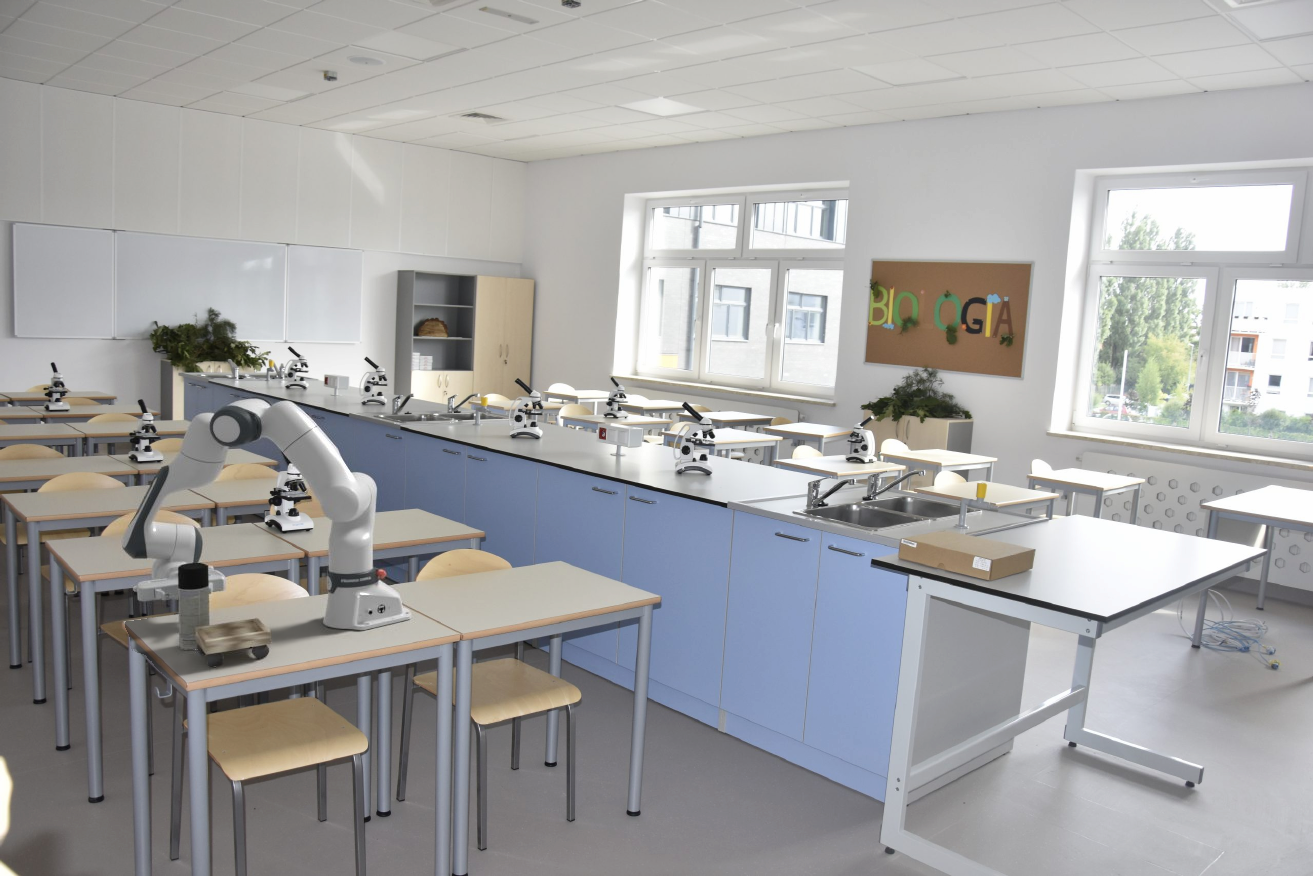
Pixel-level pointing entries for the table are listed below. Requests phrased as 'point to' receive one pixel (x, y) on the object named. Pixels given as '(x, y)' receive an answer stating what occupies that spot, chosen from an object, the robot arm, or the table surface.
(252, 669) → the table surface
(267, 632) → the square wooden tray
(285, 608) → the table surface
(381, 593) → the robot arm
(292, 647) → the table surface
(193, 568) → the spray can
